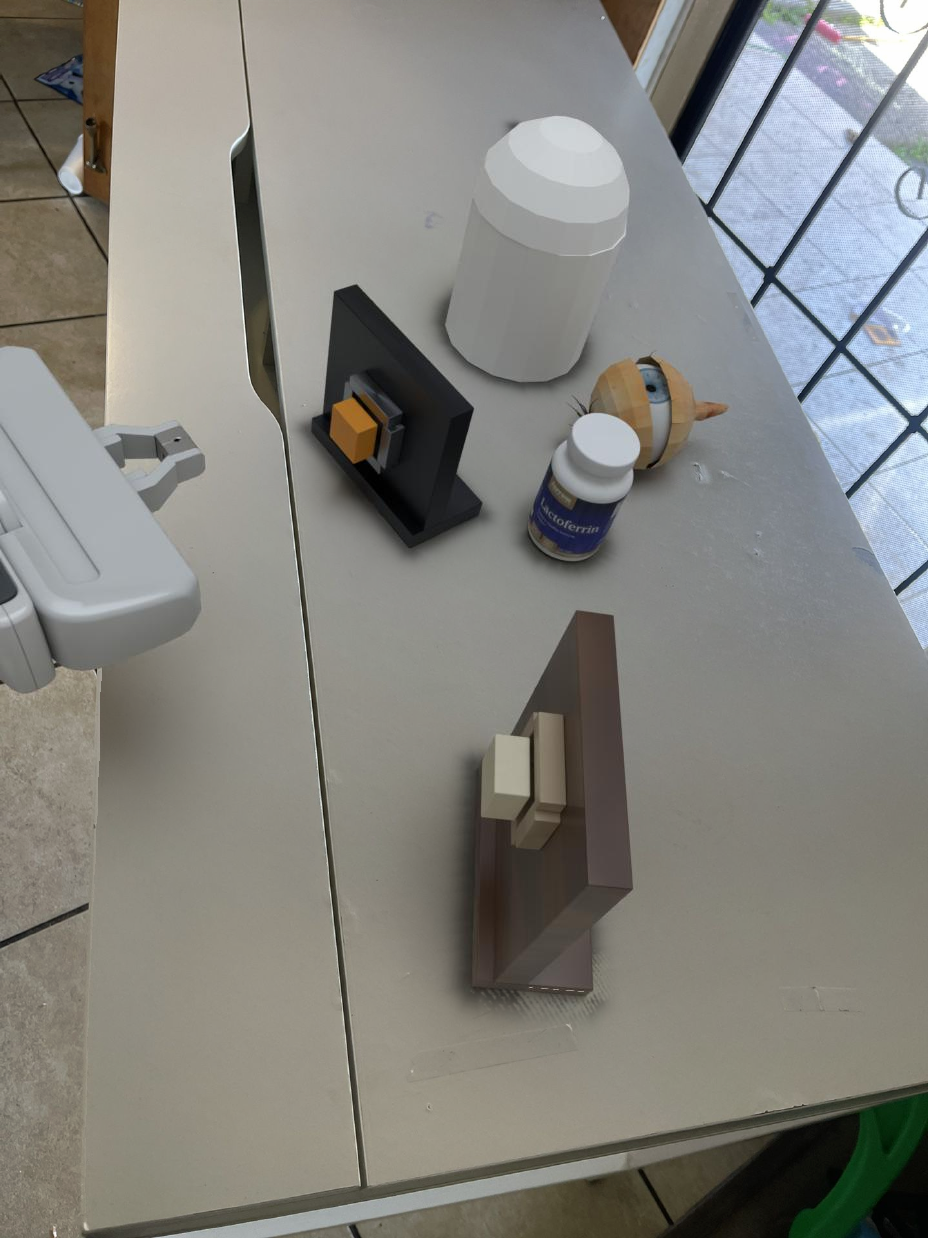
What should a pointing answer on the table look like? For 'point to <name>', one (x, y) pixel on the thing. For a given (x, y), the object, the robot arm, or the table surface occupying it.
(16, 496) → the robot arm
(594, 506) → the pill bottle
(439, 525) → the black button panel
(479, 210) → the container
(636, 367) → the sculpture
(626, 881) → the brown button panel
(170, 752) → the table surface
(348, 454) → the button far
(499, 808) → the button near
